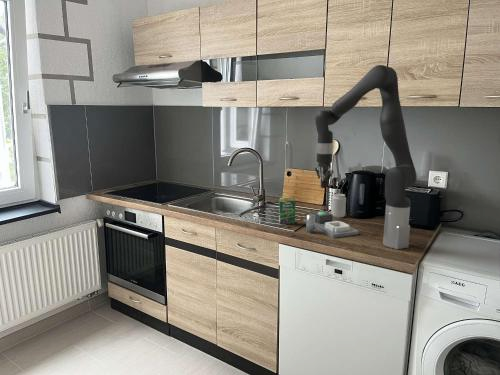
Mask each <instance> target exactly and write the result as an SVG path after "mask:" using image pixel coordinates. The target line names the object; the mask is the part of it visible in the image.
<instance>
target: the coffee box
mask: <svg viewBox="0 0 500 375" xmlns="http://www.w3.org/2000/svg"><path fill="white" fill-rule="evenodd" d="M278 223H279V225H295V224H296V198H295V197H279V198H278Z"/></svg>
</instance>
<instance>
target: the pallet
mask: <svg viewBox="0 0 500 375" xmlns="http://www.w3.org/2000/svg"><path fill="white" fill-rule="evenodd" d="M318 212H326V213H327V214H325V215H320V214H318ZM311 214H313V215H315V230H318V231H320V232H322V233H323V234H325V235H327V236H328V237H331V238H333V239H335V238H342V237H350V236H354V235H355V236H357V235H359V234H360V231H359V230H358V229H356V228H353V227H351V226H350V224H349V223H346V222H343V221H339V220H335V219H333V218H334V217H333V214H331V212H328V211H326V210H321V211H320V210H319V211H318V210H317V211H312V212H311ZM304 222H305V223H304ZM303 223H304V224H306V218H304V219H303Z"/></svg>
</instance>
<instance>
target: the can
mask: <svg viewBox="0 0 500 375" xmlns="http://www.w3.org/2000/svg"><path fill="white" fill-rule="evenodd" d="M346 204H347V197H346V194H343V193H334V194H332V196H331V204H330V205H331V208H330V213H331V214H333V218H338V219H339V218H344V217H345V216H346V207H347V206H346Z"/></svg>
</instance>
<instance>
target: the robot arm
mask: <svg viewBox="0 0 500 375" xmlns="http://www.w3.org/2000/svg"><path fill="white" fill-rule="evenodd" d="M398 81H399V80H398V73H397V72H396V70H395V69H394V68H393V67H391V66H387V65H384V64H383V65H382V64H379V65H375V66H373V67H372V68H370V70H369V71H368V72H367V73H366V74H365V75H364V76H363V77H362V78H361V79H360V80H359V81H357V83H356V84H355V85H354V86H353V87H352V88H351V89H350V90H348V91H347V92H346V93H345V94H343V95H342V96H341V97H339V98H338V99H337V100H336V101H334V102H333V103H332V104H331V108H330V109H328V110H325V109H322V110H319V111H318V112H317V113H316V116H315V117H314V120H315V126H316V132H317V146H316V163H318V164H317V167H314V170H315V172H316V176H317V178H318V179H319V180H320V189H321V188H322V189H326V188H327V181H328V180H330V179H331V177H332V176H333V175H334V170H332V169H331V168H332V167H331V164H332V163H333V153H334V144H333V143H334V142H333V141H334V138H333V137H334V135H333V134H334V133H333V132H332V130H330V129H329V128H330V127H329V126H333V125H334V124H335V123H337V122H338V121H339V120H340V119H341V118H342V117H343V115H345V114H347V113H349V112H350V111H351V110H352V109H353V108H355V107H356V106H357V105H358V104H359V102H360V101H361V99H362V98H363V97H364V96H365V95H367V94H368V93H370V92H371V91H373V90H375V89H378V90H379V92H380V97H381V101H382V102H381V103H382V104H381V110H380V117H379V126H380V134H381V137H382V139H383V142H384V143H385V144H386V146H387V147H388V149H389V150H390V152H391V154H392V156H393V159H394V163H395V166H394V167H391V168H389V169H387V171H386V174H385V179H384V198H385V202H386V203H385V213H384V226H383V237H382V238H383V239H382V244H383V246H385V247H387V248H391V249H395V250H402V249H408V248H409V244H410V233H411V225H410V223H409V222H410V212H411V199H410V198H408V197H406V189H410V188H412V187H414V186H415V184H416V183H417V177H418V176H417V171H416V167H415V165H414V162H413V158H412V154H411V151H410V146H409V140H408V136H407V130H406V125H405V124H406V123H405V120H404V116H403V110H402V105H401V100H400V94H399V93H400V92H399V82H398Z"/></svg>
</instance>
